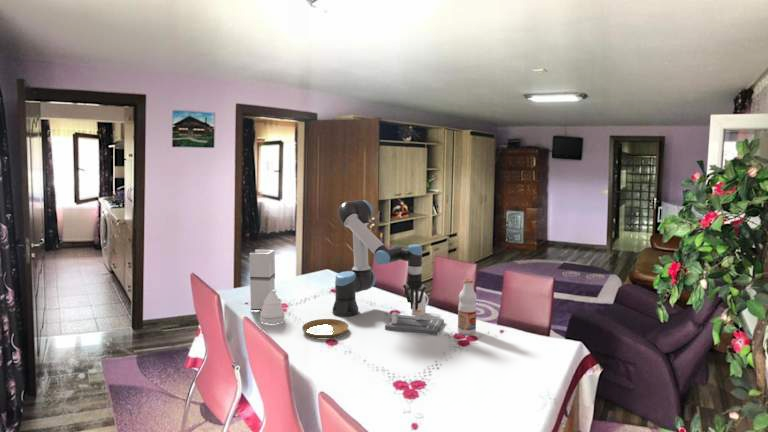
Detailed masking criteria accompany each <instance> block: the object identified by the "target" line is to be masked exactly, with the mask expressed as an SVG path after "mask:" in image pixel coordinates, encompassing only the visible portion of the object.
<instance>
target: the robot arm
mask: <svg viewBox="0 0 768 432" xmlns="http://www.w3.org/2000/svg"><path fill="white" fill-rule="evenodd" d="M373 213H374V208H373V206H372V205H371V203H370V202H369V201H368V200H366V199H365V200H364V199H357V200H351V201H349V200H346V201H344V202H342V203H341V204H340V205H339V207H338V208H337V216H338V217H337V218H338V219H339V221H340V222H341V224H342V225H343V226H344V227H345V228H348V229H349V230H350V231H351V232H352V247H353V248H352V249H353V250H352V251H353V267H352V268H351V270H346V271H341V272H338V273H337V274H336V275H335V280H334V286H335V287H334V288H335V289H334V290H335V291H334V293H335V294H334V295H335V300H334V303H333V306H332V314H333V315H335V316H338V317H352V316H357V315H358V314H359V307H358V304H357V300H356V293H360V292H363V291H367V290H369V289H372V287H374V285H375V284H376V273H375V272H374V271H373V270H372V267H371V266H370V265H369V250H370V252H371V253H372V254H373V255H374V257H373V258H374V260H375V263H376V264H377V265H379V266H380V265H382V266H383V265H388V264H390V263H394V262H399V261H403V262H407V272H408V273H407V281H406V283H405V284H403V285H402V287H403V289H404V292H405V297H406V301H407V303H410V309H411V311H412V314H411V316H415V310H417V309H418V303H421V301H422V298H423V294H424V293H425V291H426V288H427V285H424V284H423V281H422V279H423V278H422V276H423V274H422V273H423V268H422V267H423V263H422V262H423V247H422V245H421V244H415V243H412V244H409V245H408V246H401V245H392V246H391V247H390V248H388V247H387V246H386V245H385V244H384V243H383V242H382V241H381V240H380V239H379V238H378V237H377V236H376V235H375V234H374V233H373V232H372V231H371V230H370V229H369V228H368V225H369V223H370V219H371V218H372V217H373V215H374V214H373ZM408 287H409V288H408ZM409 289H410V291H409ZM420 289H421V290H420ZM414 292H415V303H414ZM418 292H421V294H420V298H419V301H418Z"/></svg>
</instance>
